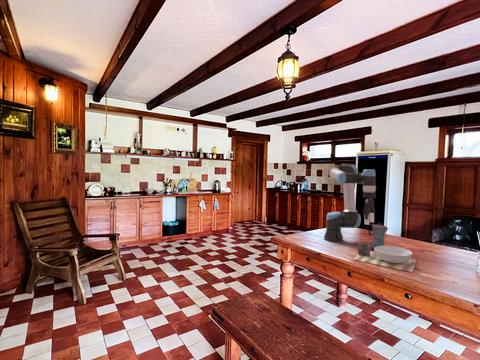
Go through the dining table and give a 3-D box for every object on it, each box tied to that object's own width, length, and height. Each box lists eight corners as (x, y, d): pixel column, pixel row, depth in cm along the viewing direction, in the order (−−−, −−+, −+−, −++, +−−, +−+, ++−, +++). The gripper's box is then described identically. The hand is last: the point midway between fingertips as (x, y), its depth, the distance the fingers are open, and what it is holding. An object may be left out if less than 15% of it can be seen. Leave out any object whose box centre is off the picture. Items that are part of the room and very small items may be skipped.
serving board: (353, 259, 165) (353, 246, 165) (363, 250, 184) (363, 239, 184) (412, 272, 145) (412, 257, 144) (416, 260, 164) (416, 247, 164)
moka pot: (385, 252, 181) (386, 224, 180) (363, 247, 193) (364, 221, 192) (390, 249, 187) (391, 222, 186) (369, 245, 199) (369, 219, 198)
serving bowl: (377, 253, 176) (377, 243, 176) (413, 260, 163) (414, 249, 163) (370, 261, 160) (370, 250, 160) (410, 269, 147) (410, 258, 147)
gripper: (370, 192, 160) (371, 226, 159) (379, 191, 179) (379, 221, 178) (358, 192, 165) (358, 224, 164) (367, 191, 184) (368, 220, 183)
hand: (369, 223), depth 171 cm, fingers open, 13 cm apart
